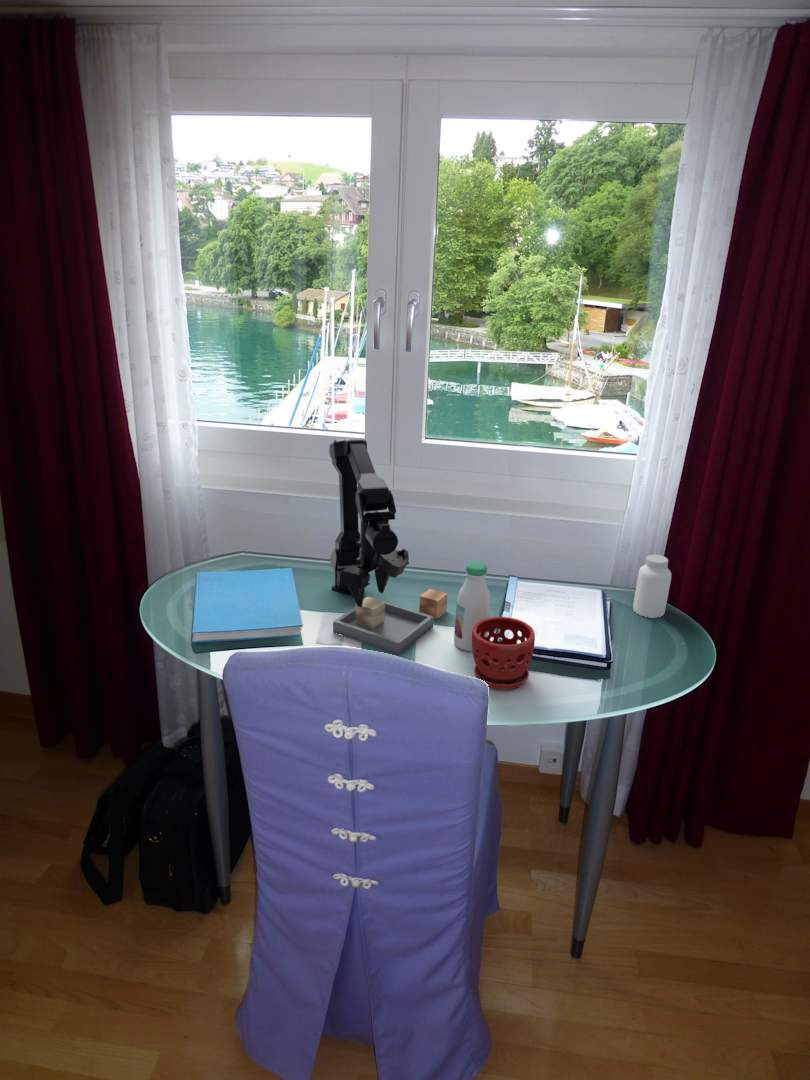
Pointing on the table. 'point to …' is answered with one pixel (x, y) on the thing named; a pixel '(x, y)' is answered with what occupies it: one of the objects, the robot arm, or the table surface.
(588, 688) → the table surface
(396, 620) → the charcoal tray
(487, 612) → the milk bottle
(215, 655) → the table surface
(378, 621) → the birch block
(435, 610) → the terracotta block
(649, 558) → the pill bottle
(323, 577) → the table surface
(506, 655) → the plant pot
